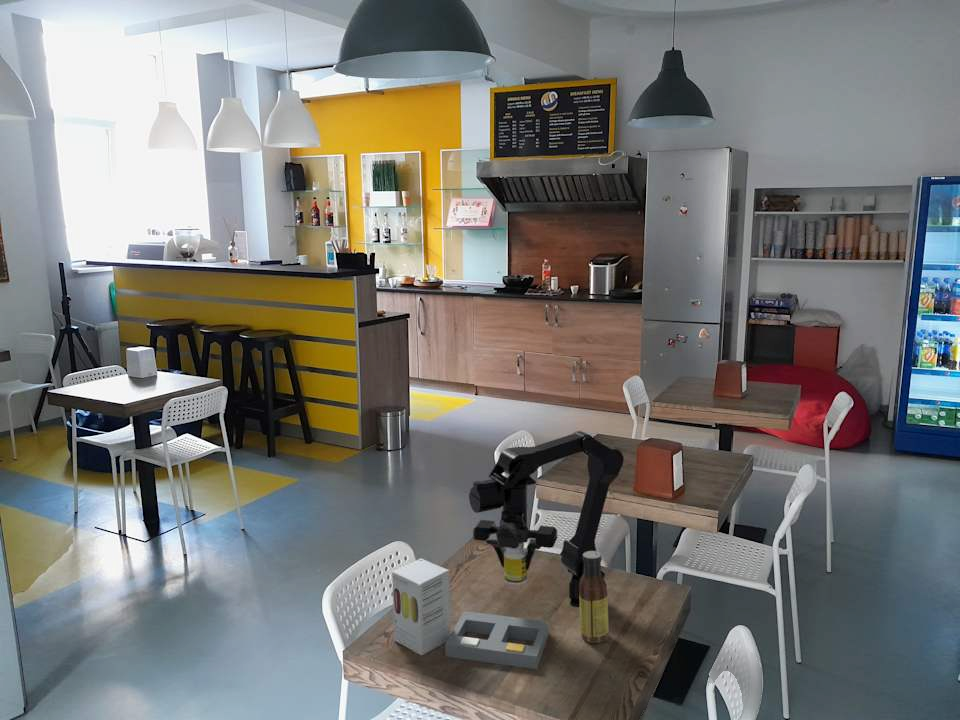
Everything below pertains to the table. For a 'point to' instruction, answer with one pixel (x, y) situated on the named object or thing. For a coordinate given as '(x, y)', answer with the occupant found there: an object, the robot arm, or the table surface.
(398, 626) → the supplement box
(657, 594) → the table surface
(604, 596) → the sauce bottle
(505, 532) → the robot arm
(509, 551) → the supplement bottle
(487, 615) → the socket board
